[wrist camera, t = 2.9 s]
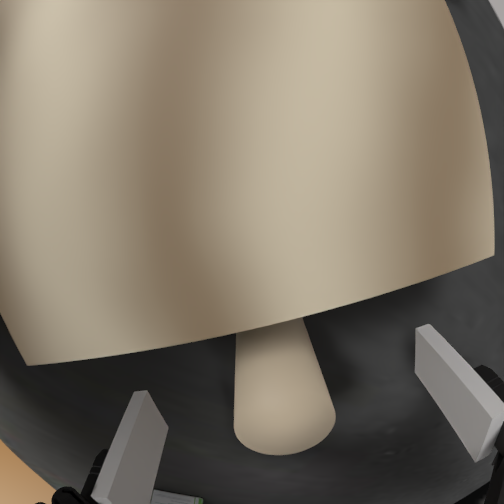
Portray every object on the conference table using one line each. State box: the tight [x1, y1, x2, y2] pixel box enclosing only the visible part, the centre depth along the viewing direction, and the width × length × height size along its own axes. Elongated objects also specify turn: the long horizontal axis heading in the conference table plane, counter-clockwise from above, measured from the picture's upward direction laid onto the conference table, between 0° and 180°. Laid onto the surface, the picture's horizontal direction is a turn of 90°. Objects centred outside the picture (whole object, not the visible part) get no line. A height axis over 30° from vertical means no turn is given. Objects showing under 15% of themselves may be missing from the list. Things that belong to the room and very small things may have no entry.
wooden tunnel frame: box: [0, 0, 494, 366], centre depth 11 cm, size 14×18×12 cm
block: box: [234, 317, 336, 455], centre depth 13 cm, size 7×22×10 cm, turn 14°
